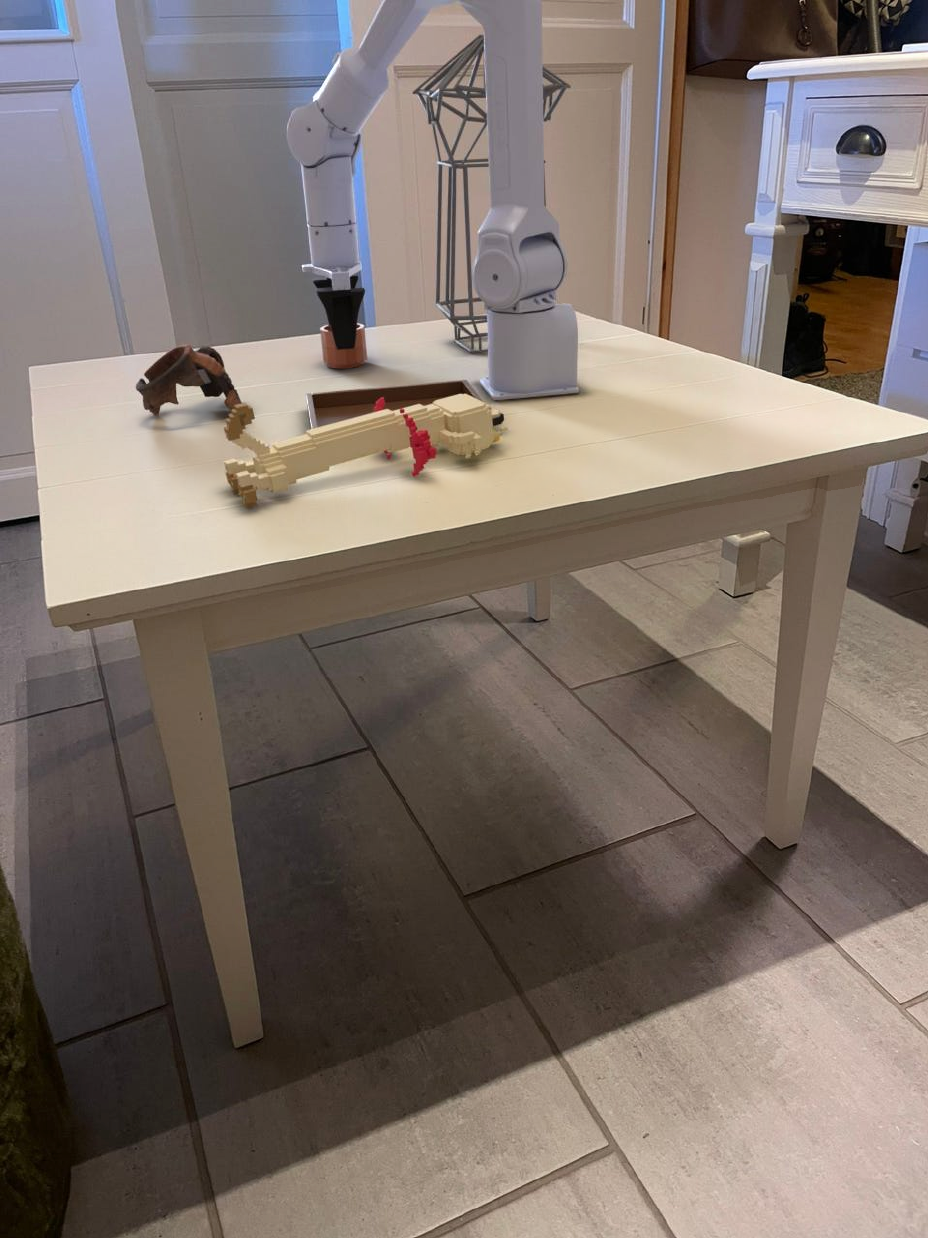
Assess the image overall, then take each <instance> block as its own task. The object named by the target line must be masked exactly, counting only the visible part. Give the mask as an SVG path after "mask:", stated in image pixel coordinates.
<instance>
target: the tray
mask: <svg viewBox="0 0 928 1238" xmlns="http://www.w3.org/2000/svg"><path fill="white" fill-rule="evenodd" d="M458 394H467V395H469V396H471V397H474V398H476V399H478V400H480V401H482V402H484V403H485V401H484V400H483V399H482V398H481V397H480V395H479V394H478V392H477V391H476V390H475V389H474V386H472V385H471V384H470V383H469V381H468V380H467V379H460V380H447V381H436V382H426V383H424V382H423V383H412V384H402V385H391V386H390V385H389V386H378V387H367V388H356V389H355V388H354V389H344V390H343V389H342V390H334V391H333V390H332V391H320V392H310V393H305V397H306V398H305V400H306V406H307V414H308V420H309V426H310V430H311V429H314V428H318V427H322V426H325V425H329V424H333V423H337V422H340V421H344V420H348V419H352V418H355V417H359V416H363V415H367V414H370V413H374V411H373V409H374V407H375V406H376V401H378V400H379V399H380V398H382V397H383V398H384V399H385V405H384V408H383V410H385V409H389V410H393V411H395V410H398V409H402V408H406V407H409V406H413V405H417V404H421V405H423V406H426V405H430V404H433V402H434V401H435V400H439V399H443V398H447V397H450V396H454V395H458Z"/></svg>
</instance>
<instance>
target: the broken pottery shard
mask: <svg viewBox="0 0 928 1238" xmlns="http://www.w3.org/2000/svg"><path fill="white" fill-rule="evenodd" d="M143 376H144V377H145V378H146V379H147V381H148V383H147V382H146V381H145V379H144V378H139V380H138V382H137V383H136V384H135V390H136V391H137V392H138V393H139V394H140V395H141V396H142V406H143V409H144V410H145V411H149V412H150V413H151V414H153V415H154V416H155V417H158V416H159V415H160V411H161V407H162V406H163V405H165V404H169V403H170V404H173V405H179V404H180V402H179V401H178V396H177V385H180V386H182V387H187V388H188V387H199V388H200V389H201V391H202V394H203V396H204V397H205V398H211V397H213V398H219V397H221V396H222V395H224V397H225V399H224V400H223V403H224V405H225V406H226V407H227V408H228V409H229V412H230V414H232V412H231V410H233V409H235V408H234V405H237V404H241V403H243V402H242V401H241V398H240V396H239V393H238V390H237V389H235V385H234V384H233V381H232V379H231V378H230V377H229V373H228V372H226V368H225V363H224V360H223V357H222V355H221V354H220V353H219V351H217V350H216V349H215V348H214V347H211V346H208V345H203V346H201V347H200V348H198V349H196V350H194V349H193V347H192V346H191V344H189V343H184V344H182V345H179V346H177V347H173V348H172V349H171V350H169V351H167V352H166V353H165V354H163V355H162V356H161V357H160V358H158V359H157V360H156V361H155V362H154V363H153V364H152V365H150V366H149V368H148V369H147V370H146V371H145V372H144V373H143Z"/></svg>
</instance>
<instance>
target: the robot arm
mask: <svg viewBox="0 0 928 1238" xmlns="http://www.w3.org/2000/svg"><path fill="white" fill-rule="evenodd" d="M456 3H458V4H459V5H460V6H461V7H462V8H463V9H464V10H465V11H466V12H467V13H468V14H469V15H470V16H471V17H472V18H473V19H474V20H475V21H477V22H478V23H479V25H480V26H481V27H482V29H483V35H484V51H485V77H486V98H485V99H486V100H485V102H486V114H487V126H486V128H487V129H486V131H487V152H488V153H487V154H488V158H489V162H488V163H489V167H488V178H489V180H488V181H489V205H490V209H489V211H488V213H487V215H486V217H485V218H484V221H483V222H482V224H481V226H480V228H479V230H478V232H477V251H476V255H475V258H474V260H473V264H472V267H471V272H472V286H473V287H474V290H475V293H476V294H477V296H478V297H479V298H480V299H481V300H482V301H481V302H483V304H484V310H485V311H486V315H487V322H486V325H487V326H486V327H487V333H488V336H487V349H488V352H487V361H488V366H487V367H488V377H483V378H480V379H479V384H480V385H481V386H482V388H484V390H485V391H486V392H487V393H488V395H489V396H490V397H491V398H492V400H494V401H503V400H511V399H512V400H513V399H525V398H526V399H527V398H535V397H544V396H545V397H547V396H558V395H568V394H578V393H579V392H580V388H579V387H578V362H579V361H578V360H579V359H578V355H579V354H578V353H579V352H578V351H579V326H578V318H577V315H576V311H575V309H574V307H573V305H571V304H570V303H556V302H557V291H558V290H559V289H560V288H561V287H562V286H563V284H564V282H565V279H566V277H567V274H568V258H567V254H566V252H565V249H564V246H563V245H562V241H561V236H560V222H559V221H558V220H557V218H556V217H555V216H554V215H553V214H552V213H551V212H550V211H549V209H548V208H547V206H546V207H545V205H544V169H545V163H544V160H545V151H544V149H545V148H544V147H545V145H544V144H545V141H544V139H545V138H544V121H543V101H544V100H543V85H544V77H543V67H544V65H543V5H542V0H382V1H381V3H380V5H379V7H378V9H377V11H376V13H375V15H374V17H373V19H372V21H371V23H370V25H369V27H368V29H367V30H366V33H365V35H364V37H363V38H362V40H361V42H360V45H359V46H358V47H357V46H351V47H346V48H344V49H343V50H342V52H337V53H336V54H335V56H334V58H333V59H332V64H333V67H332V68H331V70H330V72H329V73H328V75H327V77H326V78H325V80H324V82H323V83H322V85H321V87H320V88H319V90H317V91H316V92H315V93H314V96H312V99H313V100H312V101H308V104H307V105H306V106H304V105H303V106H298V107H296V108H294V109H293V110H292V111H291V115H290V117H289V120H288V121H287V127H286V140H287V145H288V149H289V151H290V153H291V155H292V157H293V158H294V159H295V160H296V161H297V162H298V163H299V164H300V167H301V177H302V186H303V196H304V205H305V214H306V223H307V224H306V225H307V230H308V231H307V233H308V243H309V252H310V262H311V263H307V264H302V265H301V269H302V273H304V274H305V273H312V274H314V275H318V276H320V277H313V278H312V283H313V284H314V287H315V293H316V295H317V297H318V299H319V300H320V302H321V304H322V306H323V308H324V310H325V314H326V319H327V322H328V325H330V326H331V330H332V334H333V338H334V342H335V345H336V347H337V350H342V349H354V347H355V341H356V331H357V323H358V319H359V313H360V308H361V305H362V302H363V299H364V297H365V293H366V289H365V287H356V286H357V283H358V281H359V275H358V274H357V273H359V272H360V271H362V269H363V266H362V262H361V261H360V251H359V239H358V227H357V226H358V225H357V214H356V213H357V212H356V201H355V191H354V188H355V187H354V178H355V174H356V159H357V156H358V155H359V152H360V148H361V144H362V135H361V133H360V132H361V130H362V129H363V127H364V126H365V124H366V122H367V121H368V120H369V119H370V117H371V115H372V114H373V112H374V111H375V109H376V107H377V106H378V105H379V103H380V102H381V100H382V99H383V96H385V94H386V92H387V91H388V89H389V77H388V76H389V75H388V69H389V67H390V66H391V64H392V63H393V62H394V60H395V59H396V58H397V56H398V55H399V54H400V52H401V51H402V50H403V48H404V47H405V46H406V44H407V43H408V41H409V40H410V39H411V37H412V36H413V35H414V33H415V32H416V31H417V29H418V28H419V27H420V25H421V24H422V23H423V21H424V20H425V19H426V17H427V16H428V15H429V14H430V12H431V11H432V10H433V9H438V8H440V7H445V6H449V5H453V4H456ZM484 51H483V52H484ZM321 276H322V277H321Z"/></svg>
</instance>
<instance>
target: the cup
mask: <svg viewBox="0 0 928 1238" xmlns="http://www.w3.org/2000/svg"><path fill="white" fill-rule="evenodd" d="M365 328H366V327H365V325H364V324H362V323H358V322H357V331H356V341H355V347H354V349H342V350H337V347H336V345H335V342H334V338H333V334H332V330H331V326H330V325H329V324H326V325H323V326H321V327H320V328H319V332H320V333H319V334H320V343H321V351H322V361H323V363H324V364H326V366H327V368H332V369H351V368H352V369H353V368H358V367H361V366H363V365H364V364H365V361H367V360H368V353H367V344H366V343H367V341H366V340H367V339H366V330H365Z"/></svg>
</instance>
